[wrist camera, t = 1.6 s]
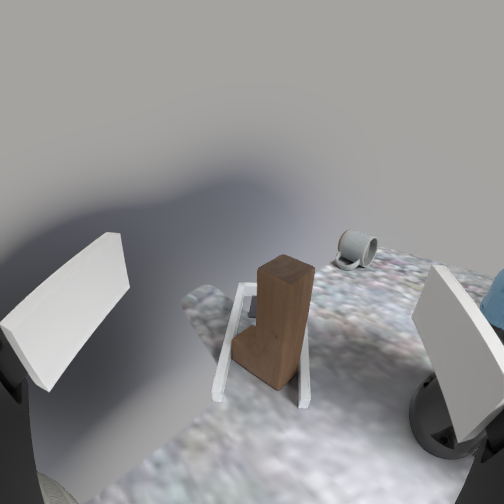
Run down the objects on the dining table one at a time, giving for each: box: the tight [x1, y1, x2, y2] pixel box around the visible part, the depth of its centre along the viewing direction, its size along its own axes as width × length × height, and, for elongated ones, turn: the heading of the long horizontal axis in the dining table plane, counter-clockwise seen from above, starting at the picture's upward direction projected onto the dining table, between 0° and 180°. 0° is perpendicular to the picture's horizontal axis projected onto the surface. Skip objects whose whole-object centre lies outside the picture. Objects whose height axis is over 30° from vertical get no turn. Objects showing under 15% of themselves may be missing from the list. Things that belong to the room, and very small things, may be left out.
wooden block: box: [231, 255, 315, 390], centre depth 34 cm, size 9×4×18 cm, turn 47°
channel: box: [211, 282, 311, 408], centre depth 42 cm, size 12×25×2 cm, turn 174°
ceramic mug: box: [336, 230, 378, 270], centre depth 63 cm, size 11×8×8 cm
